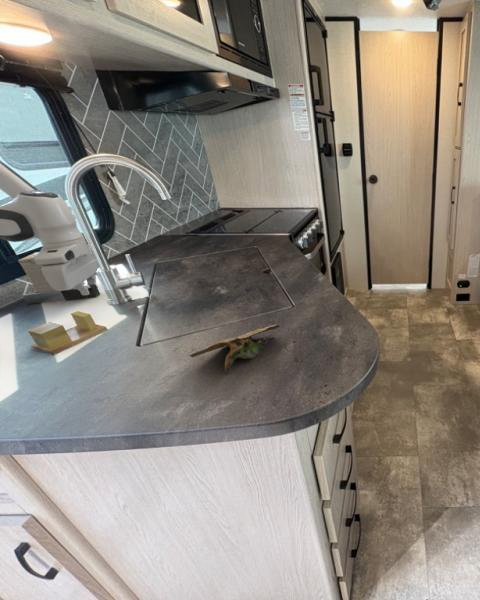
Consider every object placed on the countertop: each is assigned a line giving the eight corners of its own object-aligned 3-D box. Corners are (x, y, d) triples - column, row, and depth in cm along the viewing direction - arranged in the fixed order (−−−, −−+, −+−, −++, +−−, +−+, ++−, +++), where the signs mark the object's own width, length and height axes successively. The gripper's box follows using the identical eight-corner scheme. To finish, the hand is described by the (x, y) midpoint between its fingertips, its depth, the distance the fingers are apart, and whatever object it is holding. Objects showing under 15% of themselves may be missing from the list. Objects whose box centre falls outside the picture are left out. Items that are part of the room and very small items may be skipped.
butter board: (32, 348, 73) (20, 330, 71) (87, 325, 82) (78, 308, 80) (53, 355, 71) (41, 336, 68) (107, 329, 80) (98, 312, 78)
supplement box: (61, 297, 98) (38, 257, 92) (41, 300, 96) (16, 260, 90) (74, 287, 105) (53, 249, 99) (56, 289, 103) (33, 251, 97)
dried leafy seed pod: (243, 360, 78) (237, 330, 77) (293, 353, 74) (287, 321, 73) (174, 386, 60) (166, 347, 60) (235, 379, 56) (226, 337, 56)
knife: (100, 294, 99) (95, 284, 98) (96, 297, 97) (91, 287, 96) (30, 302, 95) (24, 292, 93) (24, 305, 93) (18, 295, 92)
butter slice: (78, 327, 79) (70, 313, 77) (85, 324, 80) (77, 310, 79) (90, 330, 78) (82, 316, 76) (97, 327, 79) (90, 313, 77)
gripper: (76, 240, 99) (96, 280, 105) (28, 261, 82) (56, 308, 88) (100, 238, 101) (118, 278, 107) (58, 258, 83) (83, 304, 89)
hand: (90, 291), depth 97 cm, fingers closed on knife, 2 cm apart
